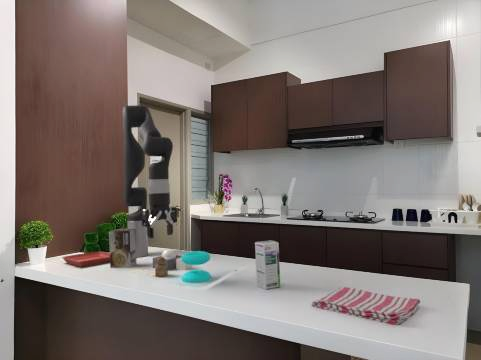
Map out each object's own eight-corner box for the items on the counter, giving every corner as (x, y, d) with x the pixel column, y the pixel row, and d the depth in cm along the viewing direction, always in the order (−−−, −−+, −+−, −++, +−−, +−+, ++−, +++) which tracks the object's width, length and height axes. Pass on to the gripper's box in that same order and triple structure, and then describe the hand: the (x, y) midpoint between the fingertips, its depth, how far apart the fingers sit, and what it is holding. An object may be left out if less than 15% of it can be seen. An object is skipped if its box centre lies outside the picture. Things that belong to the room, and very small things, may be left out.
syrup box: (265, 289, 116) (264, 243, 116) (256, 285, 121) (254, 241, 121) (280, 287, 118) (279, 241, 118) (270, 282, 124) (269, 239, 124)
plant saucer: (100, 257, 180) (99, 250, 180) (118, 262, 167) (118, 254, 167) (61, 264, 167) (61, 256, 167) (78, 269, 154) (78, 261, 154)
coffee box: (137, 266, 155) (136, 228, 155) (131, 270, 148) (130, 230, 149) (116, 266, 156) (115, 228, 156) (109, 270, 149) (108, 230, 149)
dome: (158, 264, 147) (158, 249, 147) (169, 261, 152) (169, 247, 152) (168, 266, 144) (167, 250, 144) (178, 263, 148) (178, 248, 148)
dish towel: (399, 329, 84) (399, 313, 84) (310, 308, 99) (309, 295, 99) (422, 308, 96) (421, 295, 96) (339, 293, 112) (339, 281, 112)
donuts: (209, 249, 134) (211, 254, 124) (209, 277, 133) (212, 284, 124) (181, 251, 132) (181, 256, 122) (182, 279, 132) (182, 287, 122)
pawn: (152, 276, 133) (152, 257, 133) (162, 273, 137) (162, 255, 137) (160, 277, 130) (160, 258, 131) (170, 275, 134) (169, 256, 134)
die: (176, 269, 143) (176, 258, 143) (182, 267, 146) (181, 256, 146) (185, 270, 141) (184, 259, 141) (190, 268, 145) (190, 257, 145)
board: (121, 275, 141) (120, 261, 141) (166, 264, 158) (166, 252, 158) (154, 282, 128) (153, 268, 128) (199, 269, 145) (199, 257, 145)
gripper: (167, 191, 142) (169, 233, 142) (136, 192, 131) (137, 238, 131) (181, 191, 137) (182, 234, 137) (149, 192, 126) (150, 240, 126)
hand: (160, 236), depth 134 cm, fingers open, 8 cm apart
